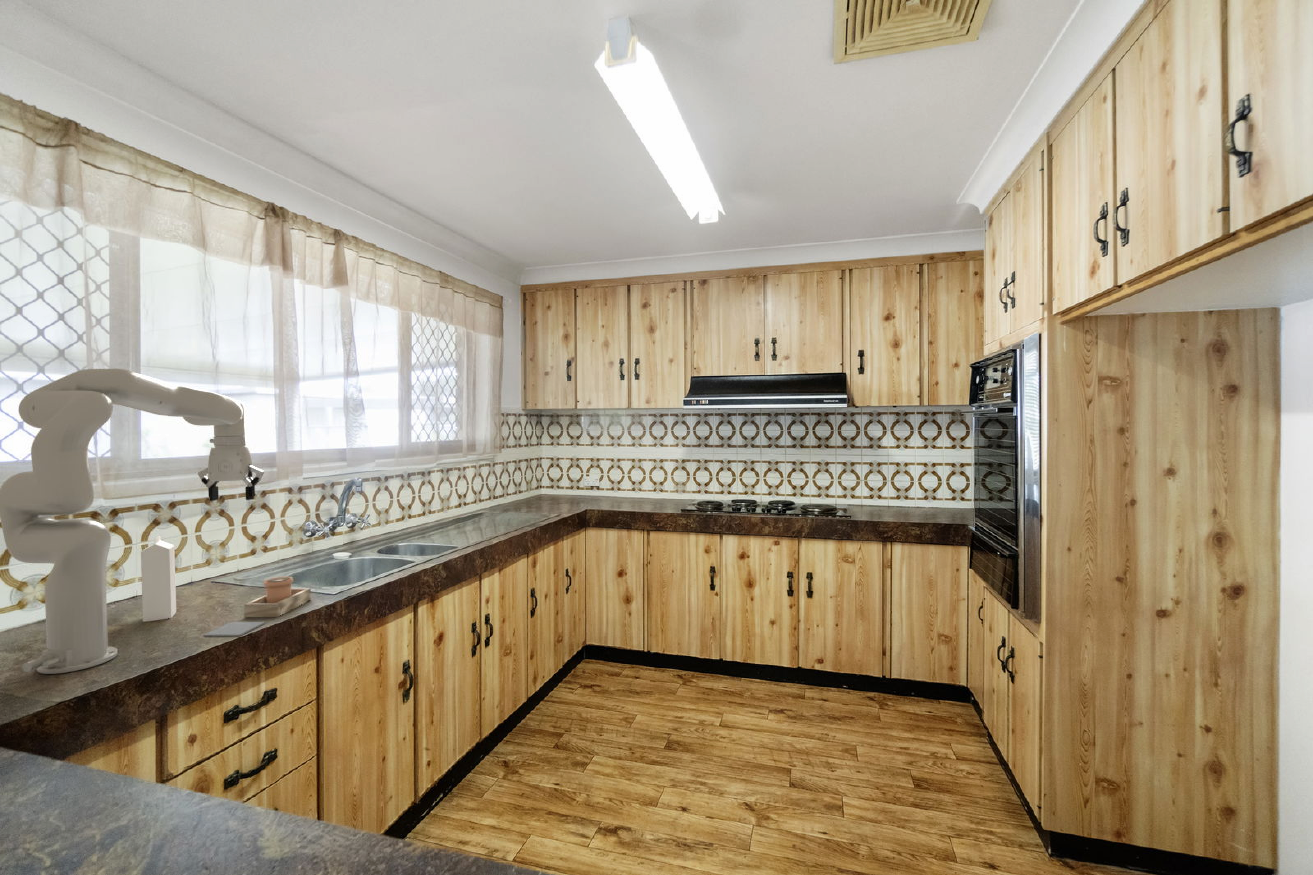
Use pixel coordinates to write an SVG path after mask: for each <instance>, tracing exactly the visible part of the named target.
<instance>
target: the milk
mask: <svg viewBox="0 0 1313 875" xmlns="http://www.w3.org/2000/svg"><path fill="white" fill-rule="evenodd" d="M161 538H162V537H161V534H160V535H158V536H156V537H155V538H154V543H152V544H151V545H149V546H147V547H146V548H144V549H142V550H141V551H140V568H141V569H140V570H141V571H140V572H141V573H140V574H141V575H140V576H141V603H142V605H141V606H142V623H146V622H147V623H148V622H153V621H159V620H168V618H169V619H172V618H173V616H174V615H175V614H176V613H177V589H176V588H177V587H176V555H175V553H176V552H175V550H176V549H175V544H172V543H170V542H167V541H163V540H161Z"/></svg>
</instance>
